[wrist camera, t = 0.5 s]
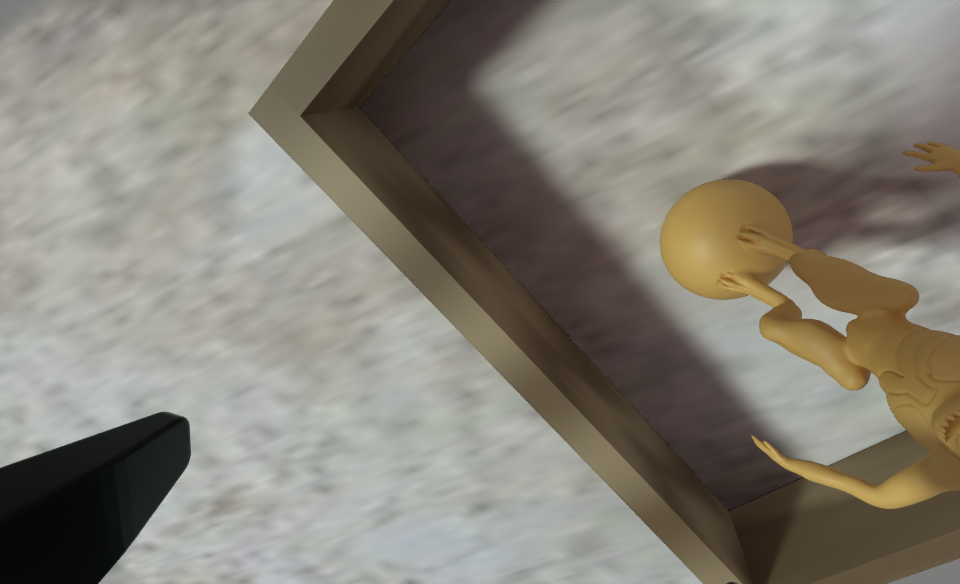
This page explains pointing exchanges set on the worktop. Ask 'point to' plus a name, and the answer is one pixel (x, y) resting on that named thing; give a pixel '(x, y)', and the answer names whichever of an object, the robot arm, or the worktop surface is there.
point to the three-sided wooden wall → (555, 357)
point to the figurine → (849, 360)
